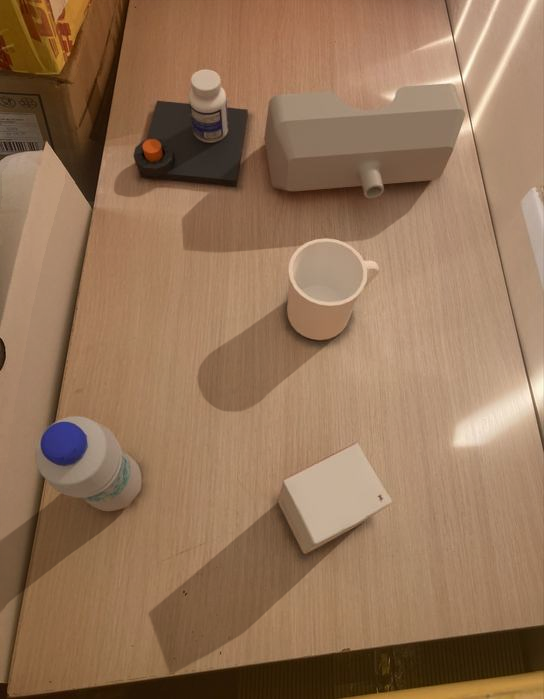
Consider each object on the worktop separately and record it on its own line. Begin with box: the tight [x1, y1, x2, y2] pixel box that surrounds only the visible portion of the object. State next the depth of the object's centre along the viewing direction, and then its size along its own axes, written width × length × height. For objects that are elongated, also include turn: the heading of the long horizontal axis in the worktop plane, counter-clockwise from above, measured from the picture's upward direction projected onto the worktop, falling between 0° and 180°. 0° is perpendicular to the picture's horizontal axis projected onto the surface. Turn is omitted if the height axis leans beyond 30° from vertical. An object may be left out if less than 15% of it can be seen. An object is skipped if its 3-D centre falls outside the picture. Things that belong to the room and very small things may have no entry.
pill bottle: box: [188, 69, 228, 143], centre depth 76 cm, size 5×5×9 cm
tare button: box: [142, 139, 163, 162], centre depth 76 cm, size 3×3×2 cm
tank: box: [264, 82, 466, 199], centre depth 74 cm, size 25×16×12 cm, turn 97°
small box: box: [277, 442, 393, 555], centre depth 54 cm, size 8×6×13 cm
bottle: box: [34, 415, 142, 512], centre depth 51 cm, size 7×7×20 cm
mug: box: [286, 237, 380, 342], centre depth 65 cm, size 11×9×10 cm
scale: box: [132, 100, 249, 188], centre depth 79 cm, size 15×15×3 cm
